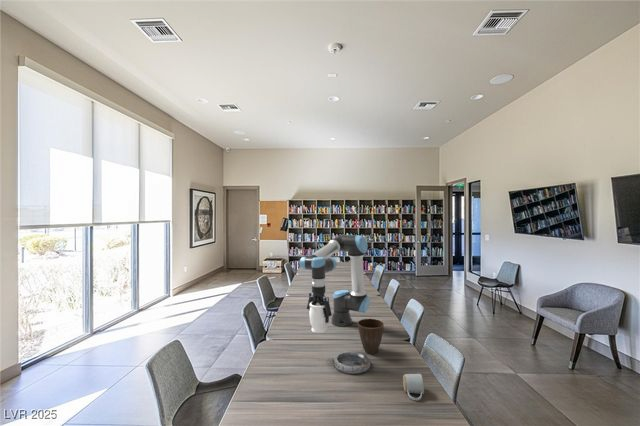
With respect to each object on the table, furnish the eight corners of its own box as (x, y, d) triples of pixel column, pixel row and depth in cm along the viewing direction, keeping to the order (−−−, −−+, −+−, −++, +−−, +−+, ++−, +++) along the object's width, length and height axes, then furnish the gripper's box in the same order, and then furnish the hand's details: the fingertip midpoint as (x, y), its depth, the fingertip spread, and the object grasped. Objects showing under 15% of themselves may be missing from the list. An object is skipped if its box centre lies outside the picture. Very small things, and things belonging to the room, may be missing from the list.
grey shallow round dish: (326, 364, 154) (326, 357, 154) (350, 352, 167) (350, 346, 167) (353, 379, 140) (353, 371, 140) (377, 365, 153) (377, 358, 153)
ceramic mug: (402, 386, 134) (402, 369, 134) (420, 387, 133) (420, 370, 133) (406, 401, 123) (406, 383, 123) (426, 402, 122) (426, 384, 122)
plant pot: (368, 359, 159) (368, 329, 159) (352, 348, 172) (352, 321, 172) (389, 353, 166) (389, 325, 166) (373, 343, 179) (373, 317, 179)
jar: (331, 327, 165) (330, 301, 165) (325, 335, 156) (325, 307, 156) (313, 325, 169) (313, 299, 169) (306, 332, 159) (306, 305, 159)
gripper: (300, 283, 168) (300, 321, 168) (328, 290, 151) (328, 333, 151) (310, 280, 173) (310, 318, 173) (338, 288, 156) (338, 329, 156)
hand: (319, 325), depth 162 cm, fingers closed on jar, 10 cm apart
